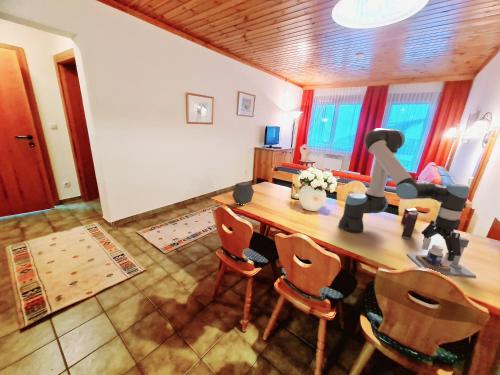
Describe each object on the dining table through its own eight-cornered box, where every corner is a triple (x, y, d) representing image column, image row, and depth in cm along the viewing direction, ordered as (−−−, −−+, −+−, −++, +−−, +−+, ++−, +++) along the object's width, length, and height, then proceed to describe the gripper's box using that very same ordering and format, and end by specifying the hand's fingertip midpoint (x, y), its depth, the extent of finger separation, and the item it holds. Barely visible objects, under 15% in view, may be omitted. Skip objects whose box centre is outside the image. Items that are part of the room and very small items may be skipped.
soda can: (415, 227, 144) (420, 212, 140) (403, 226, 145) (408, 210, 142) (409, 223, 150) (414, 208, 147) (398, 222, 152) (402, 206, 148)
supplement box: (410, 239, 127) (417, 216, 122) (401, 236, 130) (407, 213, 125) (412, 235, 133) (418, 212, 128) (403, 232, 136) (409, 210, 132)
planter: (248, 193, 184) (241, 176, 171) (255, 195, 180) (248, 178, 166) (238, 207, 176) (229, 191, 162) (245, 210, 171) (237, 193, 158)
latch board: (425, 272, 97) (432, 250, 94) (406, 254, 110) (412, 235, 107) (475, 277, 95) (484, 255, 92) (450, 258, 109) (457, 239, 105)
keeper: (460, 247, 97) (463, 241, 96) (433, 230, 114) (435, 224, 113) (469, 247, 97) (471, 241, 96) (440, 230, 113) (442, 225, 112)
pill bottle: (422, 260, 104) (427, 243, 102) (431, 260, 105) (437, 243, 102) (431, 267, 99) (438, 249, 96) (442, 267, 100) (448, 250, 97)
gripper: (483, 230, 83) (465, 275, 88) (435, 207, 107) (424, 244, 112) (463, 228, 83) (447, 273, 89) (420, 206, 107) (409, 242, 113)
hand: (434, 257), depth 101 cm, fingers open, 13 cm apart
